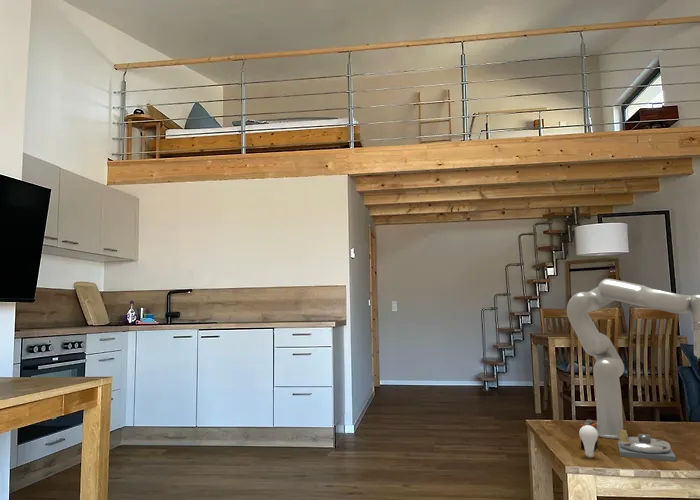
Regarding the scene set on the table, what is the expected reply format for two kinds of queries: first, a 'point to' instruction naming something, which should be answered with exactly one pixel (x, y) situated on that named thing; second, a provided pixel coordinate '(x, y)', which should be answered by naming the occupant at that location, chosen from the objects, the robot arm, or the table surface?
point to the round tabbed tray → (643, 443)
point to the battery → (592, 426)
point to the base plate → (646, 454)
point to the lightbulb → (588, 439)
